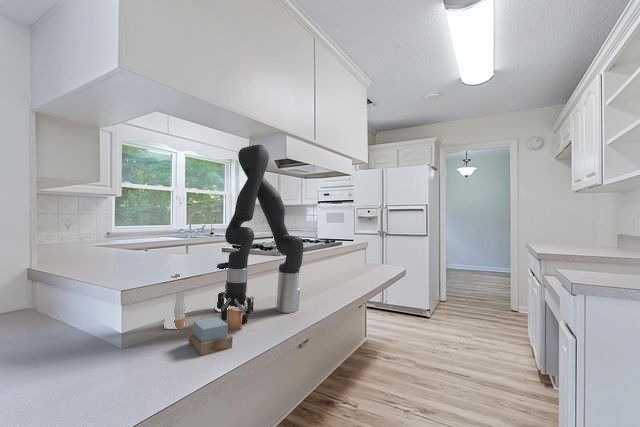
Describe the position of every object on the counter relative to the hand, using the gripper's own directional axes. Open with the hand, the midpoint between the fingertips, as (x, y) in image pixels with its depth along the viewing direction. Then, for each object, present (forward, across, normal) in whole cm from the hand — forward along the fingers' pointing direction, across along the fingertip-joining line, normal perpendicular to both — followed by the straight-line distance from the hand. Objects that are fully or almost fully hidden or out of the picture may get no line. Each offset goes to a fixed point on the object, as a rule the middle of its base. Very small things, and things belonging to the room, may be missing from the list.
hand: (234, 322), depth 119 cm
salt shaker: (+2, -18, -10) cm, 21 cm away
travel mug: (+2, -14, +13) cm, 19 cm away
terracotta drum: (+2, 0, 0) cm, 2 cm away
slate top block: (-2, +2, -18) cm, 18 cm away
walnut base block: (+2, +3, -18) cm, 18 cm away
